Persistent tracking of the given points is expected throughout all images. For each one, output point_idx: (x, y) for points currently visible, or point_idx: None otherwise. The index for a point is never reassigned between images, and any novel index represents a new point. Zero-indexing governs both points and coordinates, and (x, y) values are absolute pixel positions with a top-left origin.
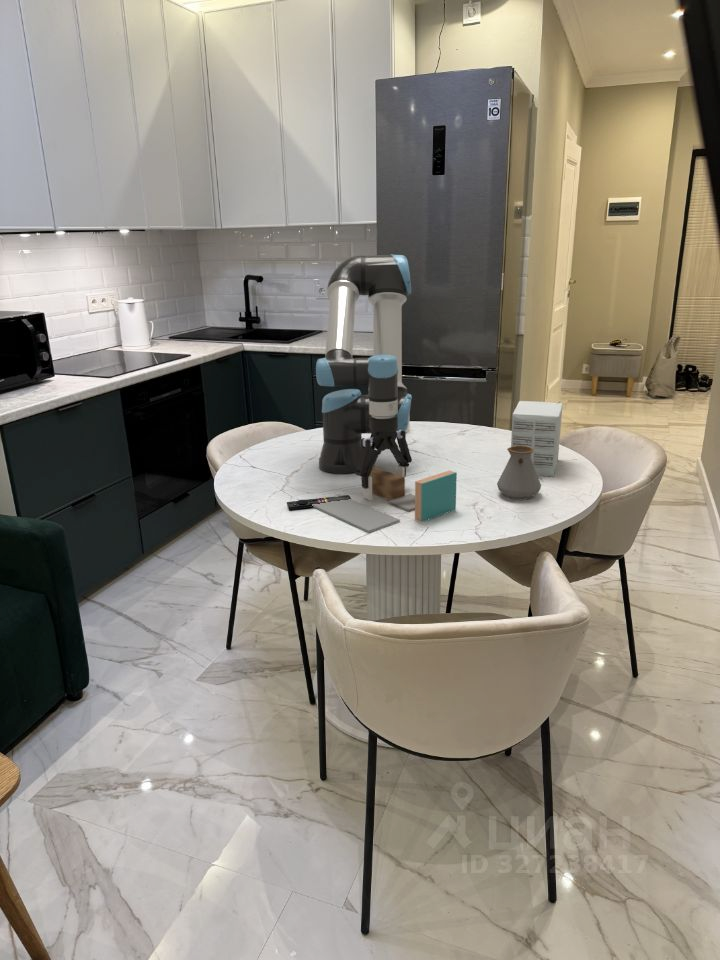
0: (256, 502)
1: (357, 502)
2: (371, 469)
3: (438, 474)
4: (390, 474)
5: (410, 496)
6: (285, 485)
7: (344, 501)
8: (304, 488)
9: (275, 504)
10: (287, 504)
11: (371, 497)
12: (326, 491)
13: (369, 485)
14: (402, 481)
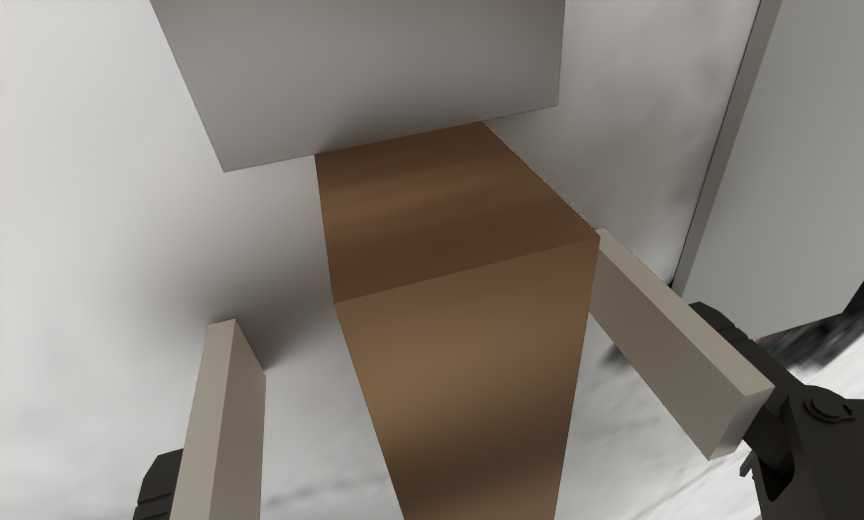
0: (861, 395)
1: (716, 217)
2: (835, 493)
3: None
4: (445, 444)
5: (261, 91)
6: (671, 494)
7: (740, 269)
8: (657, 464)
9: (860, 362)
10: (845, 349)
11: (604, 242)
12: (631, 424)
13: (696, 318)
14: (380, 248)
